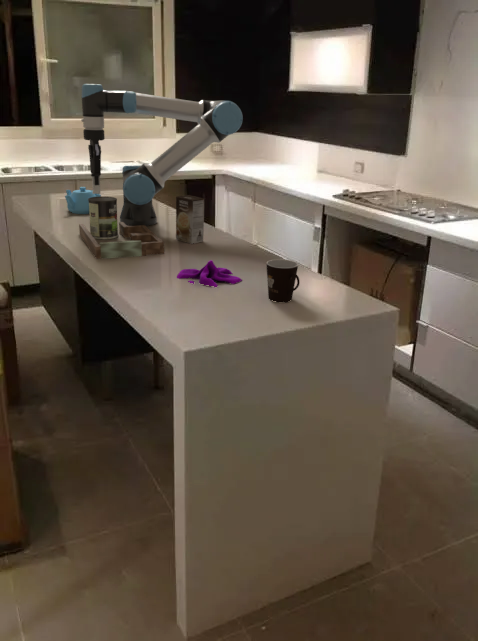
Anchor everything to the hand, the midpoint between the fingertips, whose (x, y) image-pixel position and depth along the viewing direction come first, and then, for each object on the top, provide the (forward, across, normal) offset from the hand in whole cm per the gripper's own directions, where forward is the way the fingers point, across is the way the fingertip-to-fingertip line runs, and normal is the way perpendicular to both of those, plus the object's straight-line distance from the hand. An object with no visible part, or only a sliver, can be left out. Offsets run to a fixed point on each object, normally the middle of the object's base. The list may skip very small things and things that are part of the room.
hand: (96, 193), depth 235 cm
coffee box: (+14, +25, +29) cm, 41 cm away
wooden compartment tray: (+14, +24, +4) cm, 28 cm away
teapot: (+15, -38, 0) cm, 41 cm away
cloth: (+15, +73, +20) cm, 77 cm away
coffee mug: (+14, +97, +32) cm, 103 cm away
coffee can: (+14, +11, 0) cm, 18 cm away
